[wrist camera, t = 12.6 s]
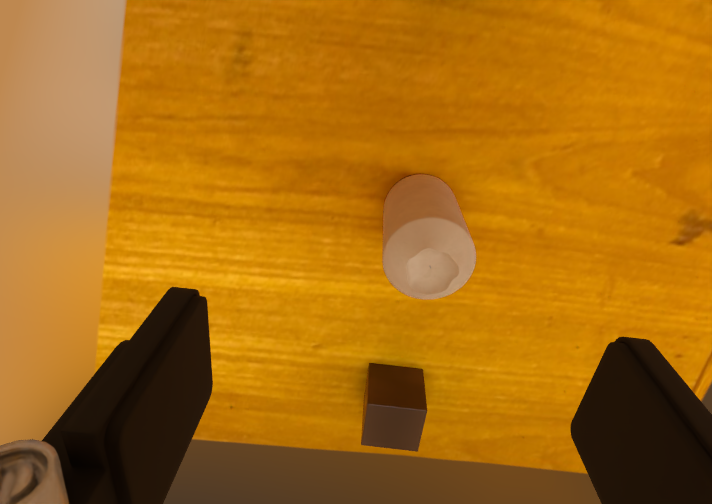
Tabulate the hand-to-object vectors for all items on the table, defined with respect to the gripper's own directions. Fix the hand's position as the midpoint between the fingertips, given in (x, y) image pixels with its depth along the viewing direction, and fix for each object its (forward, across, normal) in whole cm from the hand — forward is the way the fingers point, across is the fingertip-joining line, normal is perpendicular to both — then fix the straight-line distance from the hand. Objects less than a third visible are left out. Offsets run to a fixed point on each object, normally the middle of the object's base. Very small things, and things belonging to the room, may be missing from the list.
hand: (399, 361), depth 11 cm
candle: (+24, -3, +6) cm, 25 cm away
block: (+24, -4, +24) cm, 34 cm away
